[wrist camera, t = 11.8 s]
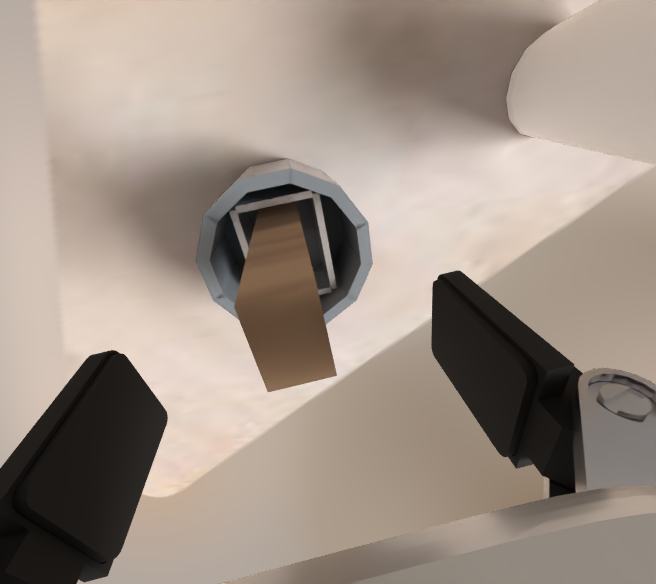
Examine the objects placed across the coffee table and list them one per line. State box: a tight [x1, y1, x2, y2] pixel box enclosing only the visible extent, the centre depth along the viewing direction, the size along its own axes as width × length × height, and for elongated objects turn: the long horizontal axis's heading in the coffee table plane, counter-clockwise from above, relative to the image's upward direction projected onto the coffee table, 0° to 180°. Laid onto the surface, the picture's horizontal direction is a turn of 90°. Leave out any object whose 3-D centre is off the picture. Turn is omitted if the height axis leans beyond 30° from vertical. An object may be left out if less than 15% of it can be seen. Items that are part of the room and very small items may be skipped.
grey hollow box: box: [229, 183, 337, 295], centre depth 20 cm, size 7×5×4 cm
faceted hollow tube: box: [196, 159, 373, 324], centre depth 20 cm, size 10×10×6 cm
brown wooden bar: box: [234, 201, 337, 392], centre depth 15 cm, size 4×2×14 cm
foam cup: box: [506, 0, 656, 165], centre depth 15 cm, size 10×9×13 cm
